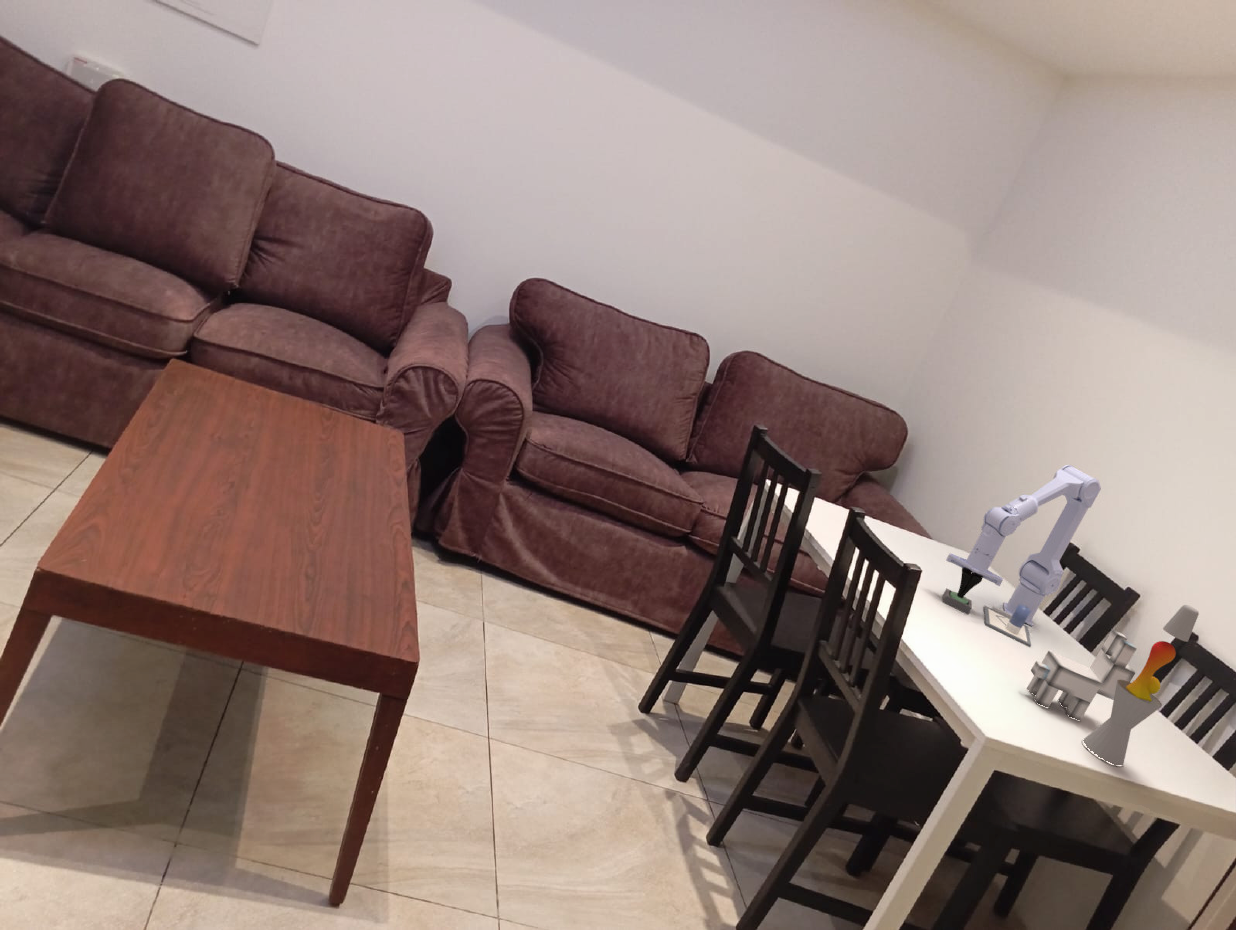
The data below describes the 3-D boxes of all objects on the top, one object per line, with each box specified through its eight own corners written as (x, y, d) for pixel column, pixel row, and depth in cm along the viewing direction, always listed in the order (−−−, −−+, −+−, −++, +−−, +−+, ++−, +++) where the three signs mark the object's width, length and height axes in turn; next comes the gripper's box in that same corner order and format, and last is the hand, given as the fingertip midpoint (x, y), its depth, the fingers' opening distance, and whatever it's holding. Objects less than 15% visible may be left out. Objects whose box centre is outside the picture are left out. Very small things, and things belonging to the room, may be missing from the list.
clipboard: (983, 607, 277) (986, 602, 277) (1026, 627, 275) (1029, 622, 274) (984, 625, 262) (987, 619, 262) (1030, 647, 260) (1033, 641, 259)
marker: (1005, 625, 266) (1018, 602, 264) (1017, 631, 265) (1030, 608, 263) (1005, 629, 263) (1019, 606, 261) (1018, 635, 262) (1031, 612, 260)
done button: (947, 596, 272) (951, 589, 271) (964, 604, 271) (968, 598, 270) (947, 601, 267) (951, 594, 267) (965, 609, 266) (968, 603, 266)
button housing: (943, 594, 273) (946, 588, 273) (968, 606, 272) (971, 600, 271) (942, 602, 267) (946, 595, 266) (968, 614, 265) (971, 607, 264)
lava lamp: (1100, 763, 204) (1192, 614, 195) (1071, 735, 212) (1158, 591, 203) (1133, 770, 208) (1225, 624, 198) (1103, 743, 216) (1190, 601, 206)
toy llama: (1016, 684, 229) (1060, 608, 224) (1088, 713, 230) (1133, 638, 224) (1026, 700, 222) (1072, 621, 217) (1100, 730, 222) (1147, 653, 217)
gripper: (957, 542, 263) (933, 587, 266) (1011, 568, 259) (986, 613, 263) (957, 536, 269) (933, 580, 273) (1010, 561, 266) (985, 606, 270)
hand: (959, 596), depth 268 cm, fingers closed, pressing on done button
